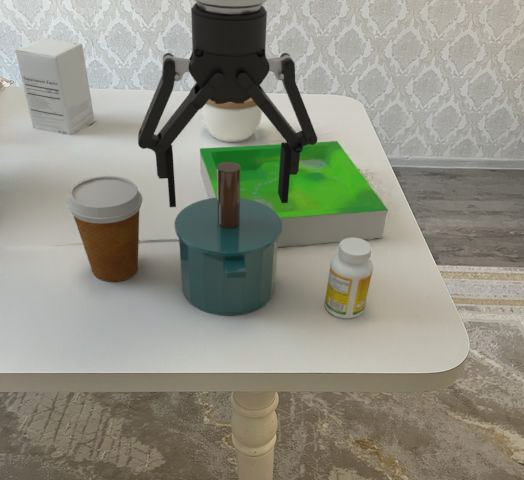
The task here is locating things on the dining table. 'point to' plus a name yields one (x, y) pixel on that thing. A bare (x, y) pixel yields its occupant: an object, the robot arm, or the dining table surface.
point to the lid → (228, 220)
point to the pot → (228, 280)
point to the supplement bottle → (349, 278)
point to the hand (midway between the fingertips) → (228, 200)
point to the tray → (304, 191)
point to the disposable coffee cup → (108, 224)
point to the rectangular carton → (56, 85)
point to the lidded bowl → (231, 120)
